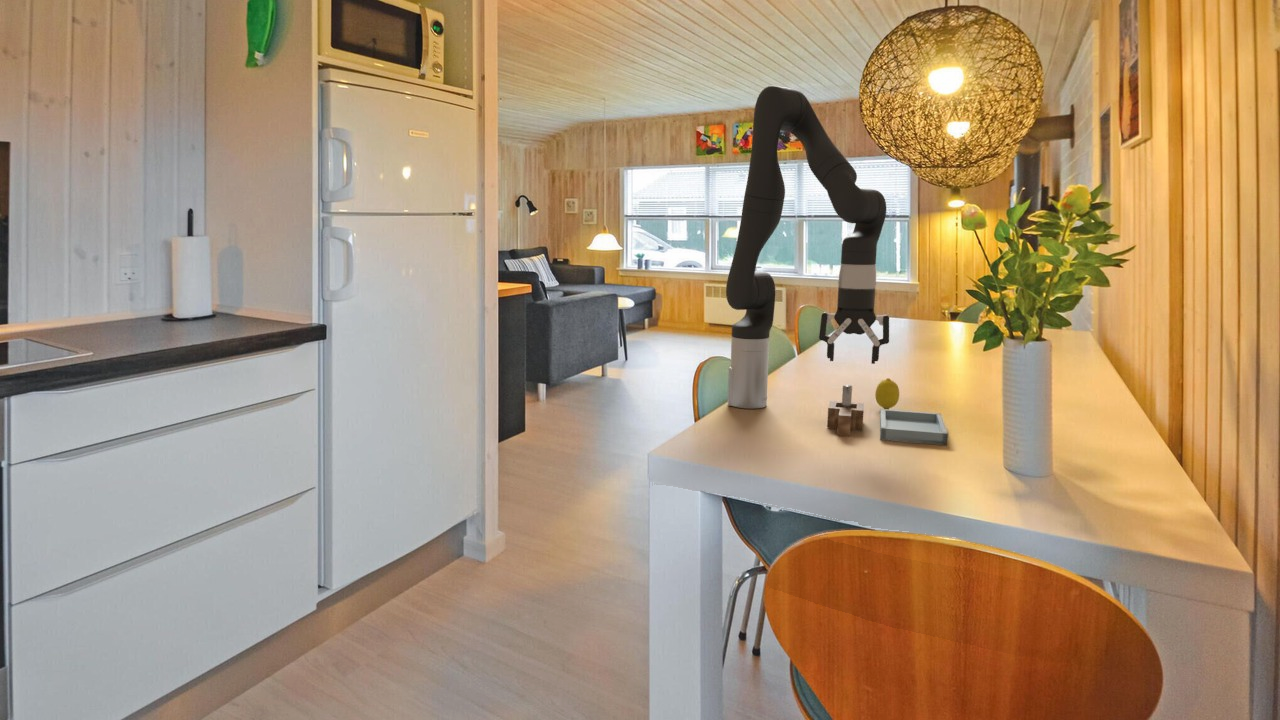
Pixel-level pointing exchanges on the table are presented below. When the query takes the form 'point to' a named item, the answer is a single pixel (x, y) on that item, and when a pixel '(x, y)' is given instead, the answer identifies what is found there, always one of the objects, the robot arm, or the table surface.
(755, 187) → the robot arm
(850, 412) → the collar
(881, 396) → the lemon
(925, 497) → the table surface
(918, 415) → the tray
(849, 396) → the peg
